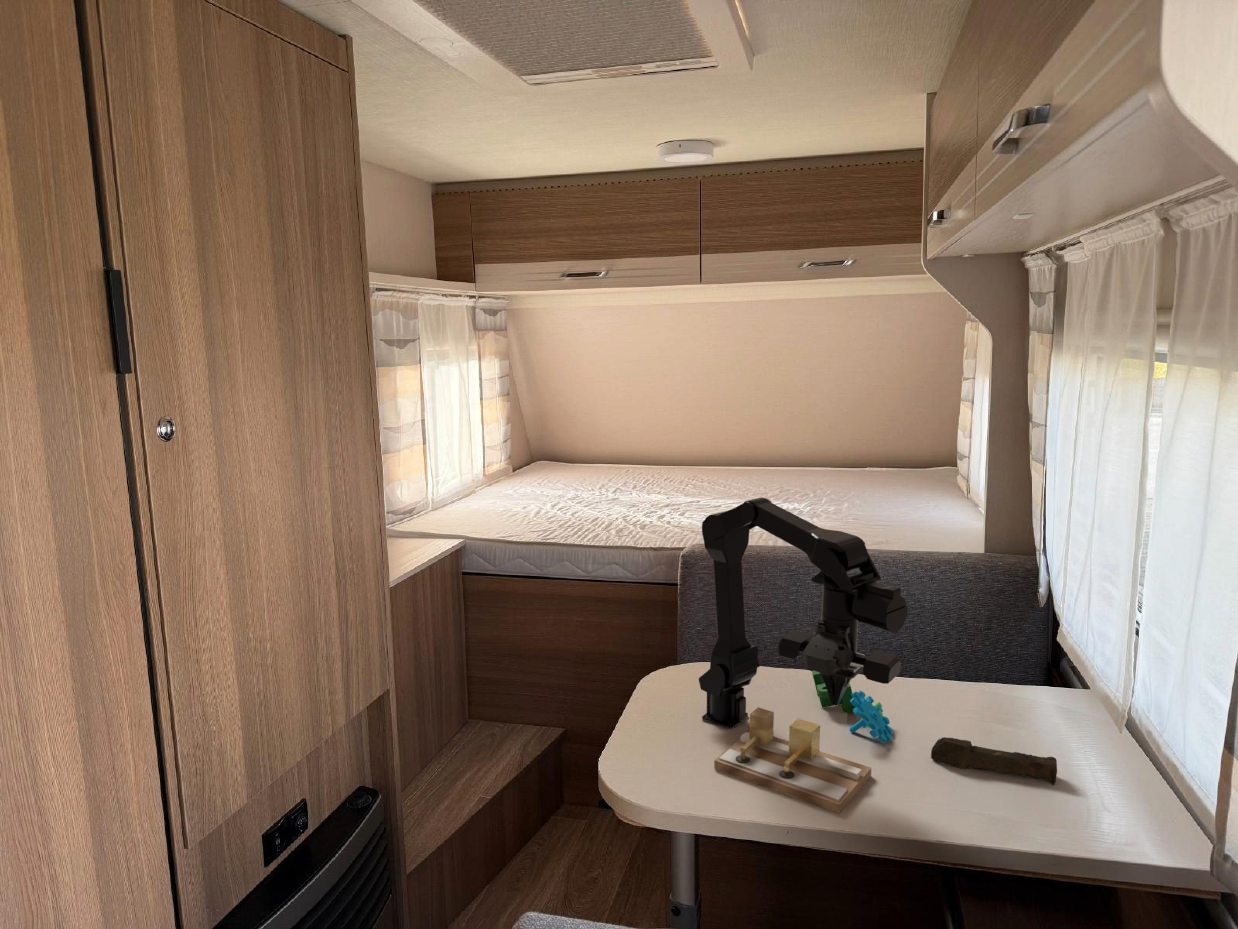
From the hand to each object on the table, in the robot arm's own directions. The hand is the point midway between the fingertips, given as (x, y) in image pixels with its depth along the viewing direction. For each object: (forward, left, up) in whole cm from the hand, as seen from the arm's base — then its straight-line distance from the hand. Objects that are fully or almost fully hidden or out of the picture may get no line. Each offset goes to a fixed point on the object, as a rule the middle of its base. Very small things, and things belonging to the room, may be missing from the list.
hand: (835, 704), depth 139 cm
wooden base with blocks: (-5, -4, -12) cm, 14 cm away
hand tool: (+21, +15, -12) cm, 29 cm away
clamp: (-10, +24, -12) cm, 29 cm away
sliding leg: (-4, -4, -10) cm, 12 cm away
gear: (+1, +16, -12) cm, 20 cm away
